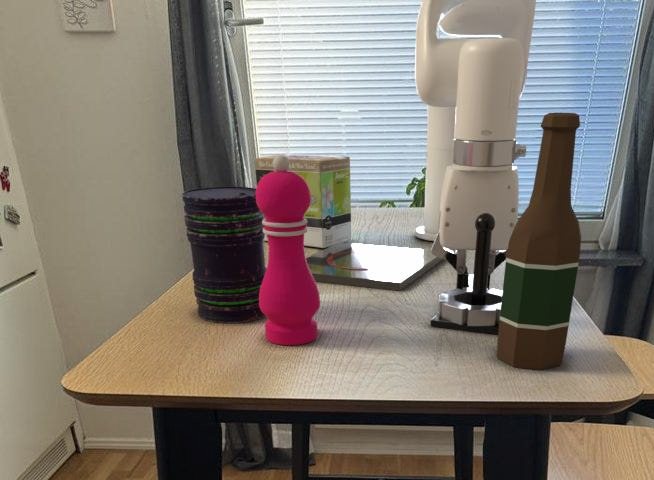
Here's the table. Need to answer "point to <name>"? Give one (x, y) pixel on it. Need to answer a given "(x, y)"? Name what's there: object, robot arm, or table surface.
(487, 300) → the octagonal ring with handle
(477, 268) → the black peg stand
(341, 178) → the tea box
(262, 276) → the storage jar
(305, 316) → the pepper mill
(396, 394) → the table surface
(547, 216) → the beer bottle
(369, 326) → the table surface
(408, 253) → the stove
